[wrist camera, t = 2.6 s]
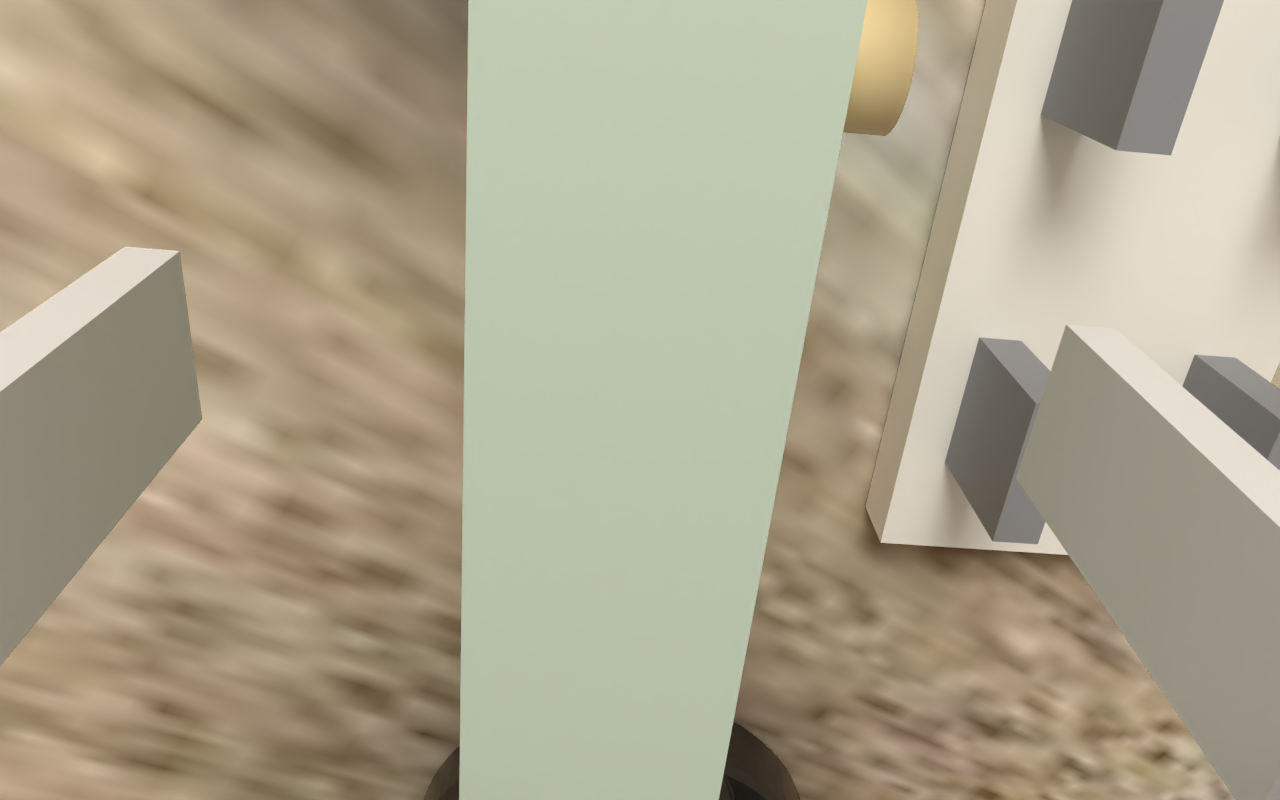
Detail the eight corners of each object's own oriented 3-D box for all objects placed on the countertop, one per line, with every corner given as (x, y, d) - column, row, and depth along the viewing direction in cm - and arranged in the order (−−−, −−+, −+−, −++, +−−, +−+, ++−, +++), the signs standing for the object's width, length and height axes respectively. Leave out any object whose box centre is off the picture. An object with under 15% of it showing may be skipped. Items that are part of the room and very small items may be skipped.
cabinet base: (1159, 526, 32) (1269, 650, 26) (865, 506, 31) (917, 629, 26) (1443, -168, 23) (1696, -193, 17) (1037, -215, 22) (1171, -256, 17)
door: (702, 412, 29) (792, 937, 14) (540, 400, 29) (457, 924, 14) (772, -96, 23) (1066, -118, 8) (567, -118, 23) (470, -183, 8)
